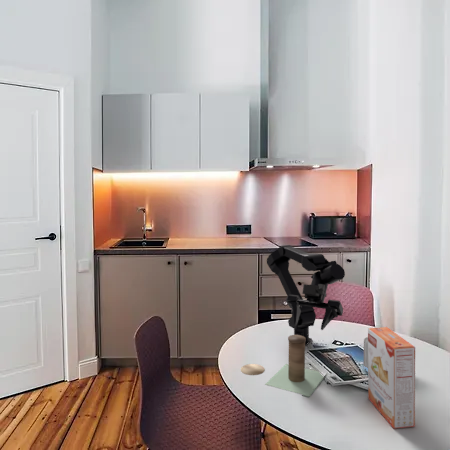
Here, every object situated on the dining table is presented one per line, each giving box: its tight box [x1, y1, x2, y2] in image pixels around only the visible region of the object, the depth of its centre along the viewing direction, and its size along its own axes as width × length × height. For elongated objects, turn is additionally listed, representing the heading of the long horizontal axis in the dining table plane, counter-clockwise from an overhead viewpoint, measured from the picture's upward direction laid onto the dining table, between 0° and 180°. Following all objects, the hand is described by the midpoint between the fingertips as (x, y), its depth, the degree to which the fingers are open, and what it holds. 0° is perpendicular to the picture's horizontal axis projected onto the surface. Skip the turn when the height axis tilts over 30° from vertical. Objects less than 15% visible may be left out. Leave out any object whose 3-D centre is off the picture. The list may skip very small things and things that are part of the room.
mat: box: [264, 363, 325, 398], centre depth 122 cm, size 16×14×1 cm
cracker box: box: [367, 326, 416, 430], centre depth 102 cm, size 14×6×21 cm, turn 5°
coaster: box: [240, 363, 266, 376], centre depth 129 cm, size 8×8×1 cm
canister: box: [287, 334, 306, 382], centre depth 121 cm, size 5×5×13 cm
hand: (308, 327), depth 130 cm, fingers open, 9 cm apart
